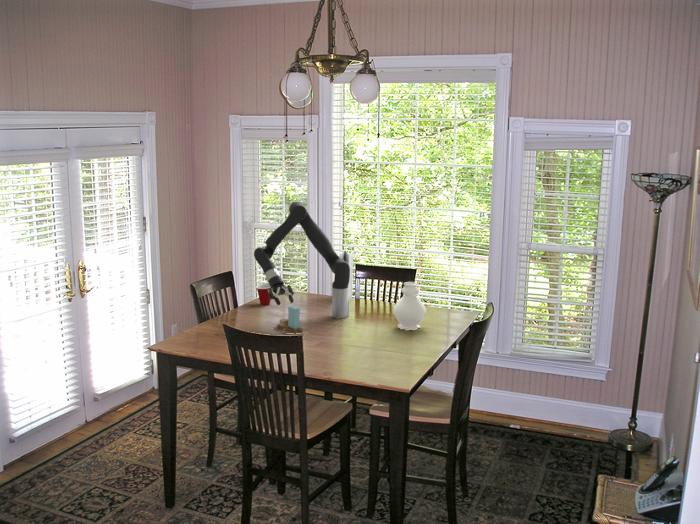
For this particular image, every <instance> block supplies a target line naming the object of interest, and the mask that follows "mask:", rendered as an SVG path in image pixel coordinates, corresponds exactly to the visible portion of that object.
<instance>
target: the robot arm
mask: <svg viewBox="0 0 700 524" xmlns="http://www.w3.org/2000/svg"><path fill="white" fill-rule="evenodd" d="M288 209H289V210H288V211H289V213H288V216H287V218H286V219H285V220H284V221H283V222H282V224H280V226H277V228H275V230H274V231H272V233H271V234H270V235H269V236H268V237H267V239H266V240H265V244H266V246H265V247H264V248H263V247H256V248H255V249H254V251H253V256H254V259H255V261H256V262H257V264H258V265H259V267H261V269H262V272H263V273H264V275H265V279H266V281H267V284H269V285H270V287H271V288H269V289H268V291H267V292H268V294H269V296H270V299H271V300H270V301H272V300H274V301H275V303H276V305H277V306H280V305H281V304H282V303H281V301H280V298H279V296H285V297H287V298H288V301H289V302H290V304H293V303H295V302H294V301H295V299H294V297H293V295H294V294H295V292H294V290H293V288H292V286H291V285H290V284H288V285H285V284H284V280H283V278H282V276H281V274H280V272H279V271H278V269H277V267H276V265H275V263H274V261H272V260H271V259H272V257H273V255H274V253H275V251H276V249H277V248H278V246H279V245H280V244H281V243H282V241H284V239H285V238H286V237H287V236H288V235H289V233H290V232H292V231H293V229H294V228H295V227H297V225H298V224H299V225H300V226H301V228H302V229H303V232H304V234H305V235H306V237H307V239H308V241H309V242H310V243H311V244H312V246H313V247H314V248H315V250H316V252H318V253H319V254H320V255H321V256H322V258H323V259H324V260H325V262H326V264H327V265H328V267H329V268H330V270H331V272H332V273H333V274H334V279H333V282H332V283H331V287H332V288H331V317H332V318H335V319H345V318H348V317H349V316H350V300H348V284H349V280H350V266H349V264H348V263H347V262H345V261H343V260H342V259H341V258H340V256H339V255H338V253H336V251H335V250H334V248H333V246H332V243H331V241H330V239H329V238H328V236H327V235H326V234H325V232H324V231H323V229H322V228H321V227H320V226H319V225H318V224H317V223H316V222H315V221H314V219H313V218H312V217H311V215H310V213H309V212H308V209H307V208H306V206H305V204H304V203H303V202H300V201H294V202H292V203H291V204H290V205H289V208H288Z"/></svg>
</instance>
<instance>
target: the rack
mask: <svg viewBox="0 0 700 524" xmlns="http://www.w3.org/2000/svg"><path fill="white" fill-rule="evenodd" d="M272 328H273V329H272V330H274V331H277V332H278V333H280V334H281V333H282V334H283V333H294V334H285V336H288V335H302V336H306V335H310V334H314V333H315V332H314V331H312V330H309V329H307V328H304V327H301V326H299V329H293V328H290V327H288V325H287V326H285V329H283V327H282V326H280V325H279V324H276V326H274V327H272ZM296 333H301V334H296Z"/></svg>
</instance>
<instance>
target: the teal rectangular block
mask: <svg viewBox="0 0 700 524" xmlns="http://www.w3.org/2000/svg"><path fill="white" fill-rule="evenodd" d="M287 310H288V313H287V314H288V315H287V316H288V318H287V319H288V327H290V328H293V329H299V327H300V321H301V320H300V316H301V315H300V307H298V306H295V305H289V306H287Z"/></svg>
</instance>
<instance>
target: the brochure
mask: <svg viewBox="0 0 700 524" xmlns="http://www.w3.org/2000/svg"><path fill="white" fill-rule="evenodd" d="M339 255H340V256H339V257H340V258H341V259H342V260H343V261H345V262H347V263H348V264H349V266H350V280H349V284H348V300H349V301H350V299H351V298H352V297H353V289H354V287H353V286H354V285H353V283H354V282H353V281H354V277H353V276H354V250H352V251H351V252H350V253H348V251H347V250H346V249H345V250H343V251H342V252H341V253H340V254H339Z"/></svg>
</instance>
